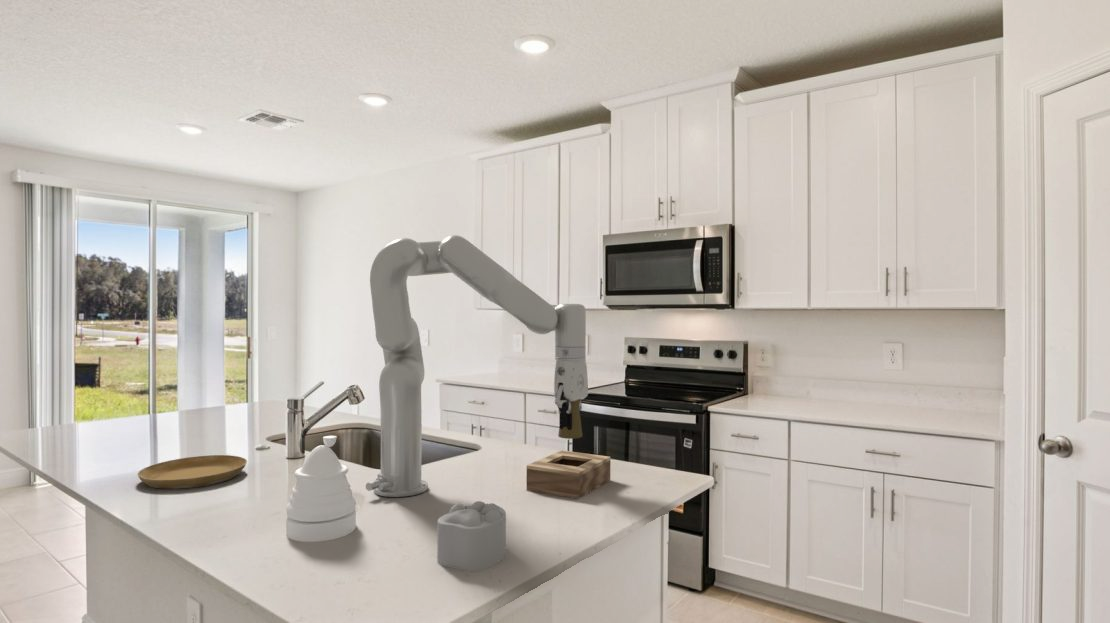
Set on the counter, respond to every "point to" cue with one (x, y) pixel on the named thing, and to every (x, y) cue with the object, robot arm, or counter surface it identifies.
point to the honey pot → (321, 498)
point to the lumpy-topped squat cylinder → (472, 536)
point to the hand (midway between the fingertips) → (570, 426)
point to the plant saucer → (192, 471)
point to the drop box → (568, 474)
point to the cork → (576, 423)
